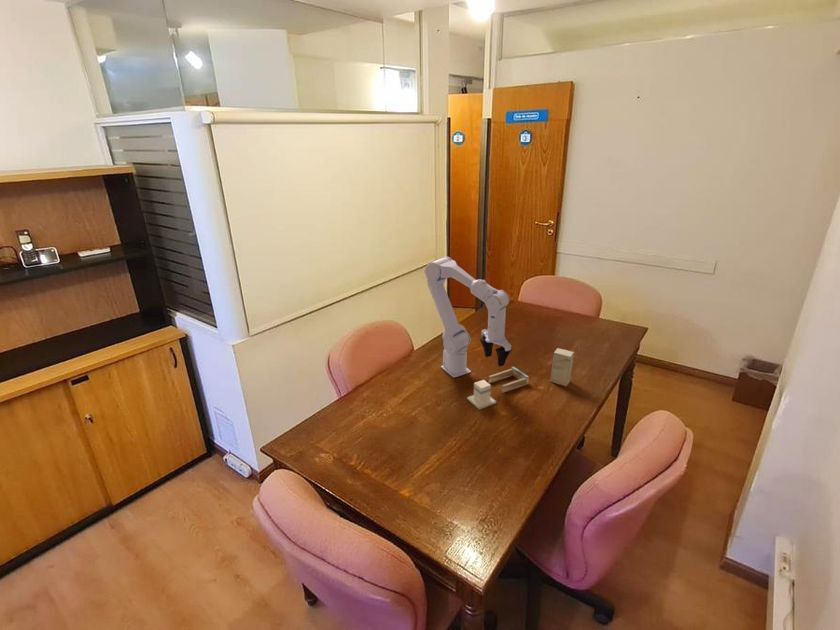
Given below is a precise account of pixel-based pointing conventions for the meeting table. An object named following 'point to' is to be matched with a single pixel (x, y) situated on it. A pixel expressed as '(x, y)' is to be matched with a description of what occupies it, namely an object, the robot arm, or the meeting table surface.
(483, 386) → the block
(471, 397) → the stand tile
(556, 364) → the skincare box
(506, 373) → the shelf bay
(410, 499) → the meeting table surface
